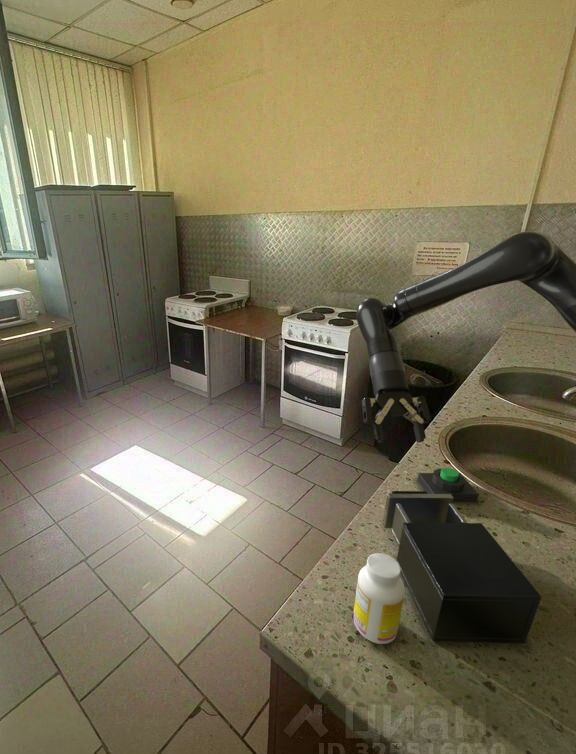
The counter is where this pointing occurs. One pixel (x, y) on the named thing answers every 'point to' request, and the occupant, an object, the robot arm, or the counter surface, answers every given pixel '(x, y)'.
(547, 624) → the counter surface
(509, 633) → the black box
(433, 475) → the control block
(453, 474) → the button
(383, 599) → the supplement bottle
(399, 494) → the rack drawer
